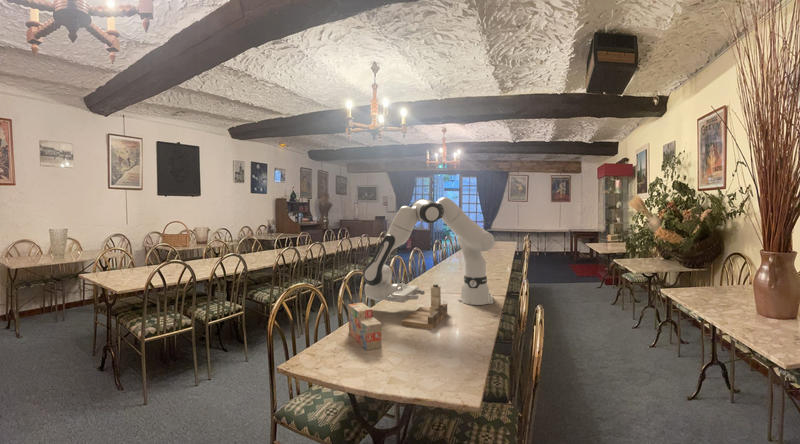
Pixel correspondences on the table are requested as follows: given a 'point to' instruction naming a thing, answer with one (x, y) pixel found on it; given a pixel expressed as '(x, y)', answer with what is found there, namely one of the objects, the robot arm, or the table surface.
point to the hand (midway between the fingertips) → (421, 295)
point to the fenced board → (425, 317)
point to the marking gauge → (435, 297)
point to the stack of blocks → (364, 326)
